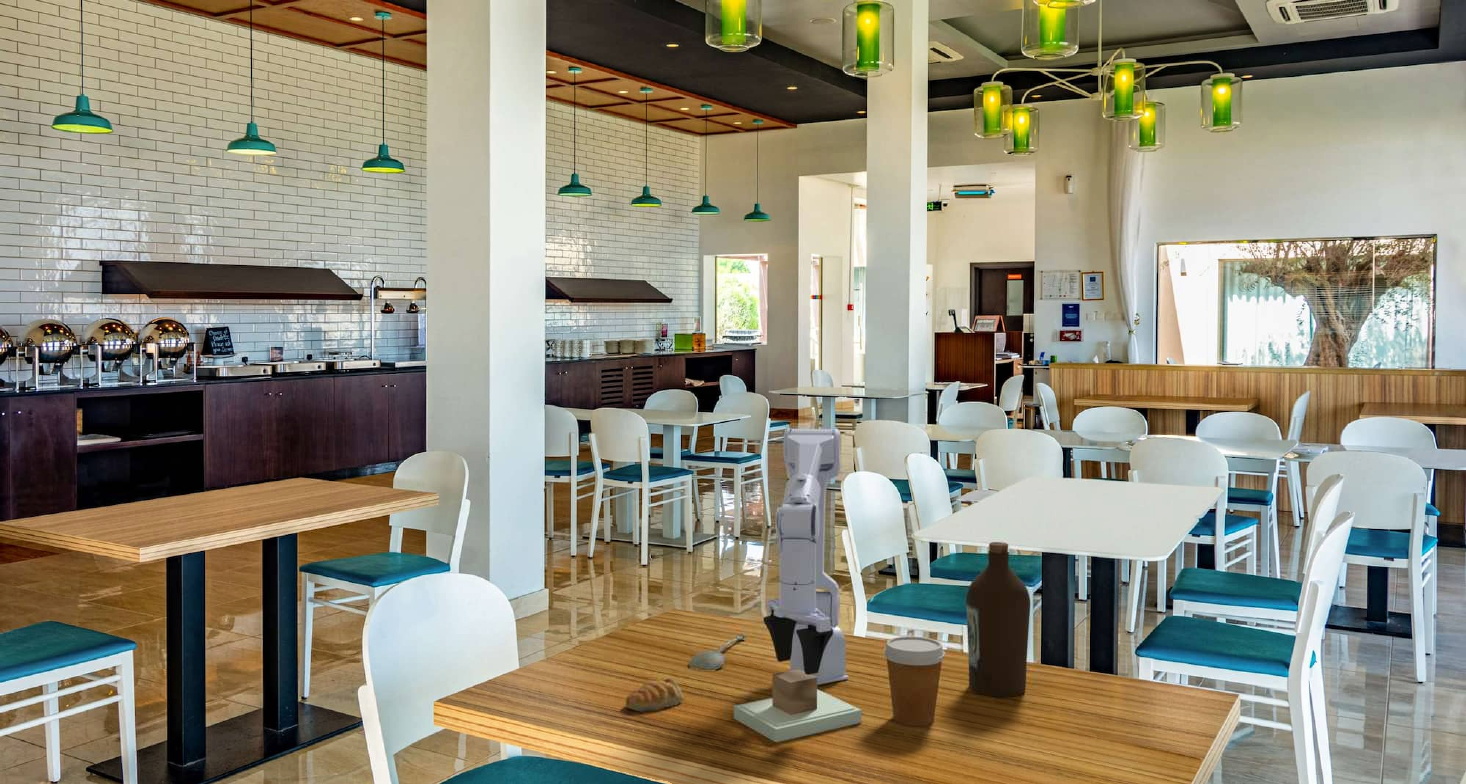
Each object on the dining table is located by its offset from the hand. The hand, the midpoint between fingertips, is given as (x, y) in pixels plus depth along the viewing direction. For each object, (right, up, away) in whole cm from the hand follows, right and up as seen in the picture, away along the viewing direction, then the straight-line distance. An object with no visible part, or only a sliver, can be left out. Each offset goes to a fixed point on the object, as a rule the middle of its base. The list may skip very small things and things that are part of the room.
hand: (797, 666), depth 168 cm
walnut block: (-1, -6, 0) cm, 6 cm away
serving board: (0, -9, 0) cm, 9 cm away
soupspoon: (-12, -8, +36) cm, 39 cm away
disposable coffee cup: (+18, -9, +1) cm, 20 cm away
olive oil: (+35, -8, +16) cm, 39 cm away
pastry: (-23, -9, +8) cm, 26 cm away
